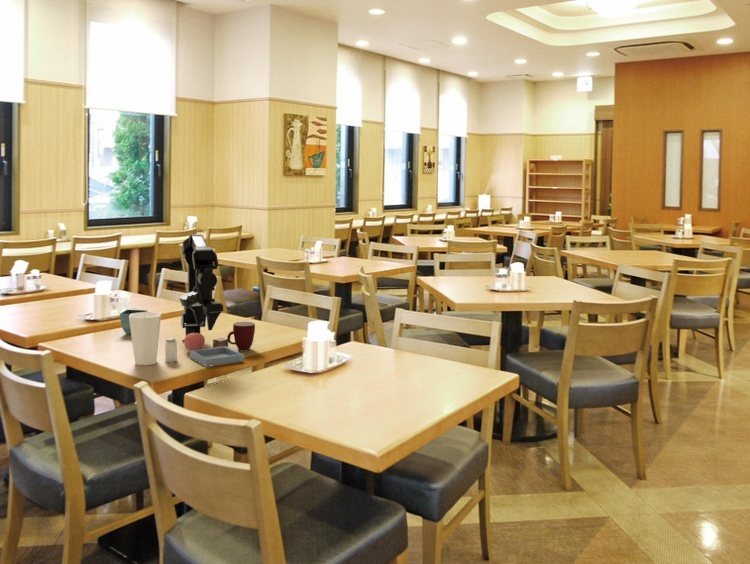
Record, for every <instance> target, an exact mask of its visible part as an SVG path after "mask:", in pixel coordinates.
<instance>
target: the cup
mask: <svg viewBox="0 0 750 564" xmlns="http://www.w3.org/2000/svg"><path fill="white" fill-rule="evenodd" d="M161 317H162V313H161V312H155V311H154V312H153V311H148V312H140V313H132V314H130V316H129V322H130V329H131V334H130V335H131V336H130V337H131V342H132V350H133V356H134V363H135V365H136V366H150V365H155V364H157V360H158V351H159V340H160V330H161V320H162V319H161Z"/></svg>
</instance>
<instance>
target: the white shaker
mask: <svg viewBox="0 0 750 564" xmlns="http://www.w3.org/2000/svg"><path fill="white" fill-rule="evenodd" d="M164 353H165V354H164V358H165V359H164V361H165V363H175V362H174V361H176V362H177V361H178V341H177V340H176V338H172V337H170V338H166V339H165V341H164Z"/></svg>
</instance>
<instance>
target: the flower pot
mask: <svg viewBox="0 0 750 564" xmlns="http://www.w3.org/2000/svg"><path fill="white" fill-rule="evenodd" d="M140 312H149V310H148V309H147V310H146V309H144V310H143V309H125V310H124V311H122V312H120V313H119V319H120V325H121V328H122V330H123V332H124V333H125V334H126V335H131V329H130V322H129V316H130V314H132V313H140Z"/></svg>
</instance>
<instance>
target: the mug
mask: <svg viewBox="0 0 750 564" xmlns="http://www.w3.org/2000/svg"><path fill="white" fill-rule="evenodd" d="M255 324H256V323H254V322H252V321H237V322H234V323H233V325H232V326H233V327H232V331H230V332H228V334H227V337H226V339H227V340H228V344H230V345H236V348H237V350H239V351H240V350H244V351H243V352H245V350H247V351H250V349H251V347H252V345H253V342H254V336H255V333H256V332H255V331H256V325H255ZM232 335H233V338H234V341H231V336H232Z"/></svg>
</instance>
